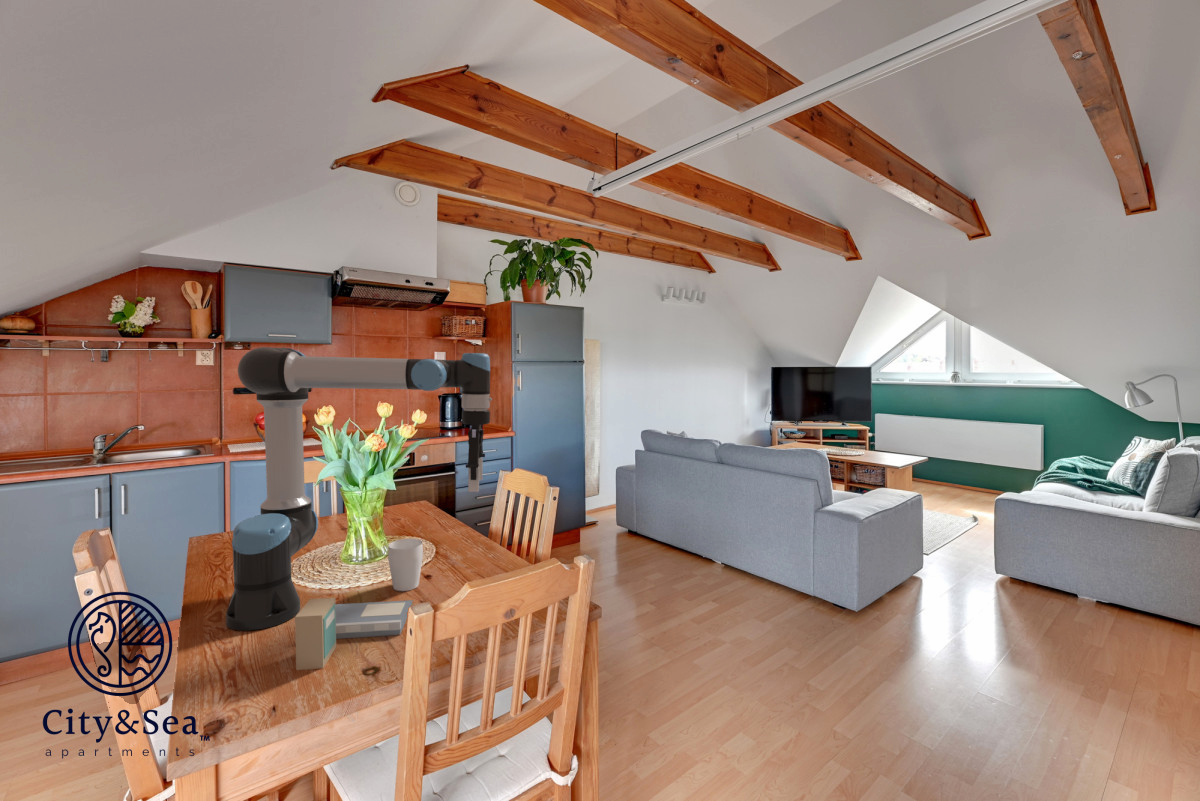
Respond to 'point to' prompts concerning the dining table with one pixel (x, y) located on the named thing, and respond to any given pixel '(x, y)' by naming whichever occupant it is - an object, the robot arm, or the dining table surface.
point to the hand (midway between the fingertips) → (475, 485)
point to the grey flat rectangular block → (371, 619)
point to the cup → (405, 563)
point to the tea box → (315, 633)
